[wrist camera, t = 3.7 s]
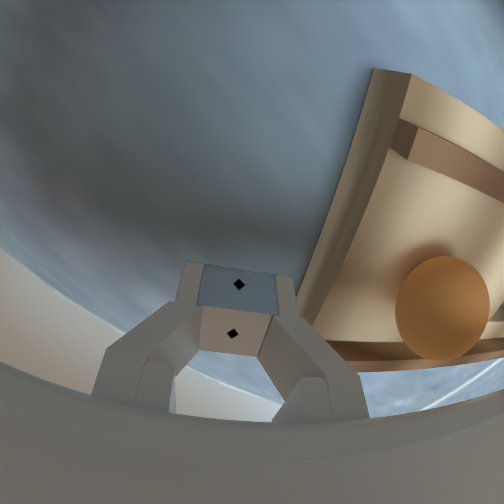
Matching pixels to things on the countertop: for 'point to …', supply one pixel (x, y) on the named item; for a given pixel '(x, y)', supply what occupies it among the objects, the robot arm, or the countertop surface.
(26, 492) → the robot arm
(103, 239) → the countertop surface
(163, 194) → the countertop surface
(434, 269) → the ball
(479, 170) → the lane board
